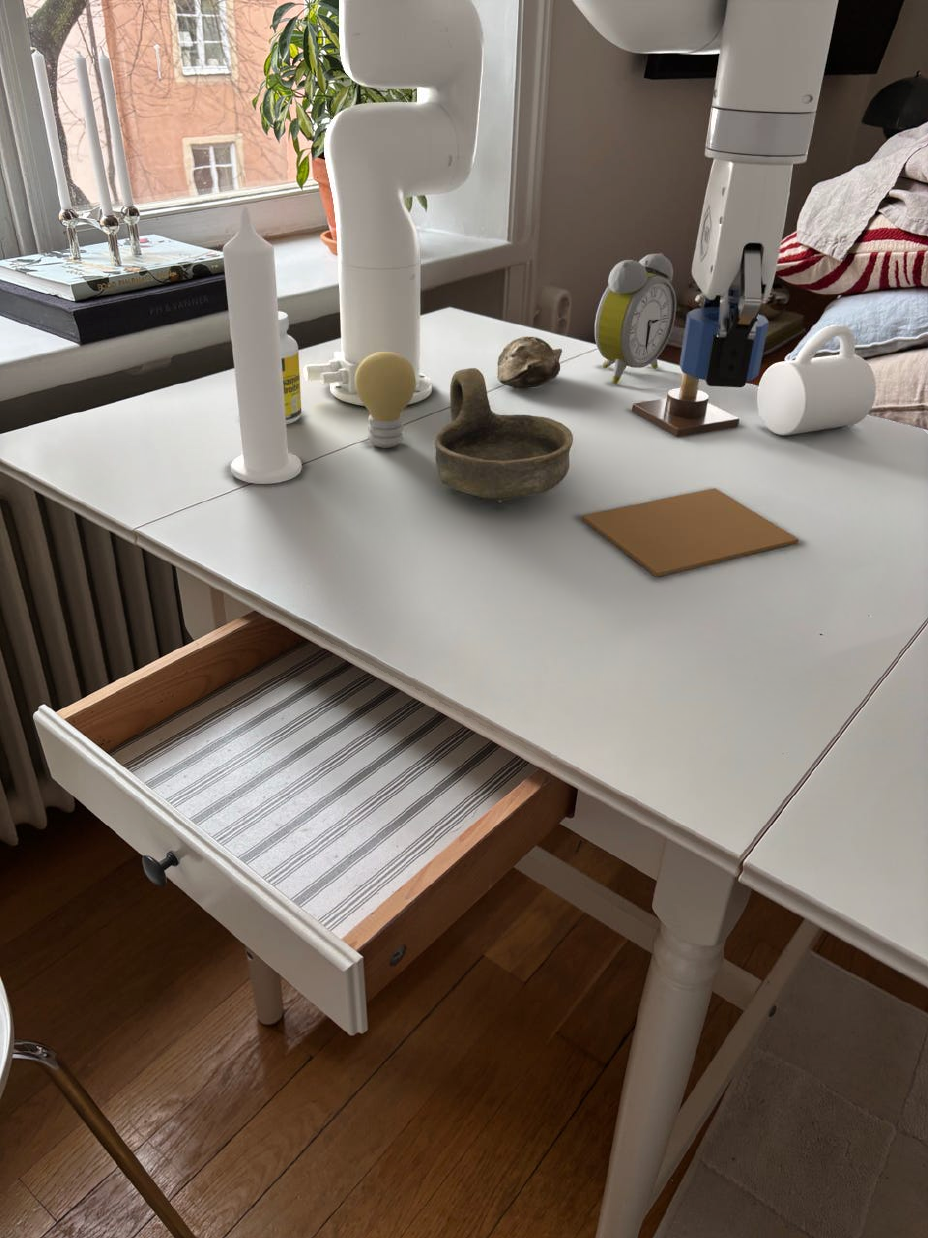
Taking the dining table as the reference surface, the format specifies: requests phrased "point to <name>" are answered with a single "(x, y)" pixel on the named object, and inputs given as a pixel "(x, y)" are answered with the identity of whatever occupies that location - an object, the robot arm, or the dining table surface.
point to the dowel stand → (685, 411)
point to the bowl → (498, 446)
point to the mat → (687, 531)
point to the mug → (817, 387)
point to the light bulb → (385, 395)
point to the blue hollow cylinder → (700, 338)
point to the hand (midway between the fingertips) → (717, 369)
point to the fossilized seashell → (528, 363)
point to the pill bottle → (289, 371)
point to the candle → (257, 358)
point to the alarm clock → (636, 313)
